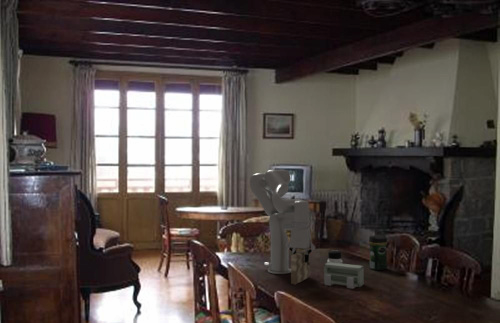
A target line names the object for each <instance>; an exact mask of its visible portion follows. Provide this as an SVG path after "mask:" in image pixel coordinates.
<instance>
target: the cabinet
mask: <svg viewBox="0 0 500 323" xmlns="http://www.w3.org/2000/svg"><path fill="white" fill-rule="evenodd" d="M364 270H365V266H364V265H360V264H347V263H342V264H341V263H331V262H328V263H327V262H326V263H324V264H323V283H324V286H326V287H327V286H329V287H331V286H333V285H340V286H346V289H352V290H353V289H355V288H356V287H357V288H361V287H362V286H364V280H365V279H364Z"/></svg>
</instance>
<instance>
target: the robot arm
mask: <svg viewBox="0 0 500 323" xmlns="http://www.w3.org/2000/svg"><path fill="white" fill-rule="evenodd" d="M290 183H291V174H290V172H289V171H288V170H287V169H269V170H267V171H266V172H258V173H254V174H252V175H251V176H250V178H249V187H250V190H251V192H252V194H253V196H255V198H256V199H257V200H258V202H259V204H260V205H261V207H262V208H263V210H264V212H265V214H266V215H267V216H268V217H269V219H268V225H269V231H270V262H266V261H265V262H264V263H263V264H264V267H266V268H267V273H270V274H273V275H286V274H291V268H289V261H290V260H289V257H290V254H289V250H290V251H291V253H292V255H293V254H295V253H297V250H298V249H299V250H300V249H301V250H305V253H306V254H305V263H307V262H308V261H309V262H310V258H309V254H311V252H313V251H314V250H315V249H316V246H315V245H314V244H313V243H312V233H311V228H310V227H309V225H310V223H309V221H310V218H309V217H310V215H309V214H310V212H309V211H310V208H309V207H310V204H309V201H307V200H303V199H300V198H287V199H286V198H282V197H284V196H285V195H286V194H287V193H288V191H289V184H290ZM267 188H268V189H267ZM269 189H270V190H271V191H272V192H273V193H272V192H271V191H270V190H269ZM286 231H290V236H288V235H287V232H286ZM289 237H290V238H289Z"/></svg>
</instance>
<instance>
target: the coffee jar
mask: <svg viewBox="0 0 500 323" xmlns="http://www.w3.org/2000/svg"><path fill="white" fill-rule="evenodd" d="M368 243H369V244H368V245H369V259H368V268H369V269H370V270H372V271H373V270H375V271H382V270H387V269H388V260H387V244H388V238H387V236H385V235H383V234H377V235H375V234H374V235H370V236H369V238H368Z"/></svg>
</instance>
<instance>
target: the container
mask: <svg viewBox="0 0 500 323" xmlns="http://www.w3.org/2000/svg"><path fill="white" fill-rule="evenodd" d="M327 254H328V256H327V257H328V259H327V262H326V263H328V262H331V263H341V264H343V259H342V252H341V251H339V250H329V251H328V253H327Z"/></svg>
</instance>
